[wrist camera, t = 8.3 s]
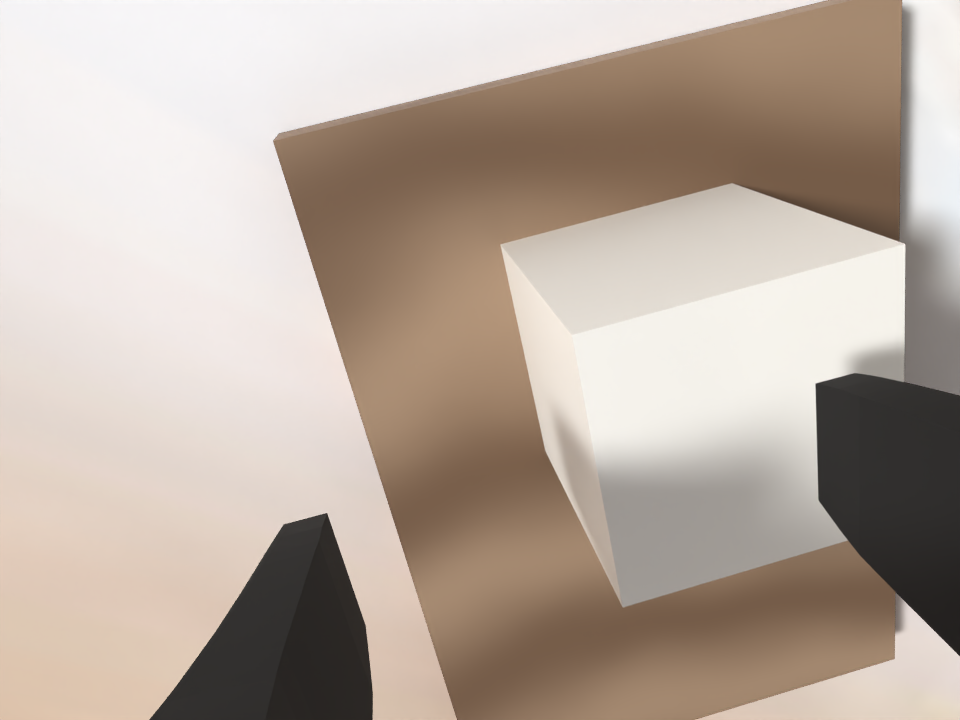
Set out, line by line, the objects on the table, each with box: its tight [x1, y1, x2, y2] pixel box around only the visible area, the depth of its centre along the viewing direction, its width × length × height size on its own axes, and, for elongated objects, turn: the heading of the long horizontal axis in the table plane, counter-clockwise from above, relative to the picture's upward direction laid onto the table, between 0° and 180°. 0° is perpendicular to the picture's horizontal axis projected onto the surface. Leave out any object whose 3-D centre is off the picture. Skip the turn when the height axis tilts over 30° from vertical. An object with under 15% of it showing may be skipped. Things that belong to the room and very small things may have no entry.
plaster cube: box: [500, 183, 905, 607], centre depth 16 cm, size 6×6×6 cm
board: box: [273, 0, 902, 720], centre depth 21 cm, size 20×14×2 cm
